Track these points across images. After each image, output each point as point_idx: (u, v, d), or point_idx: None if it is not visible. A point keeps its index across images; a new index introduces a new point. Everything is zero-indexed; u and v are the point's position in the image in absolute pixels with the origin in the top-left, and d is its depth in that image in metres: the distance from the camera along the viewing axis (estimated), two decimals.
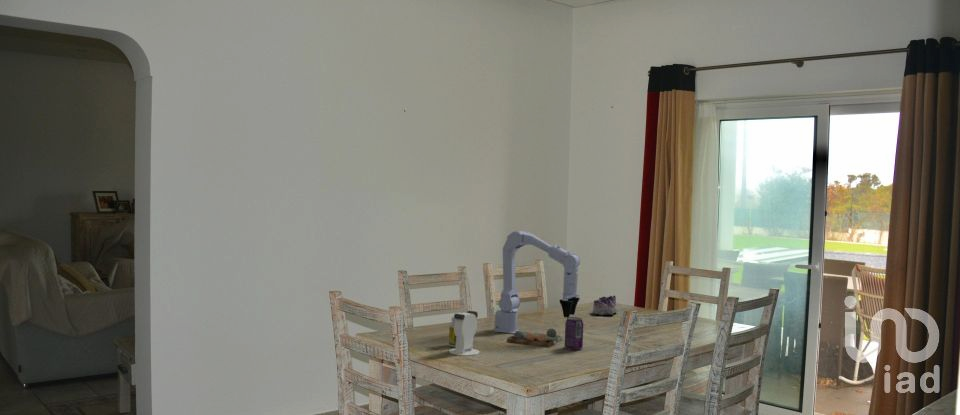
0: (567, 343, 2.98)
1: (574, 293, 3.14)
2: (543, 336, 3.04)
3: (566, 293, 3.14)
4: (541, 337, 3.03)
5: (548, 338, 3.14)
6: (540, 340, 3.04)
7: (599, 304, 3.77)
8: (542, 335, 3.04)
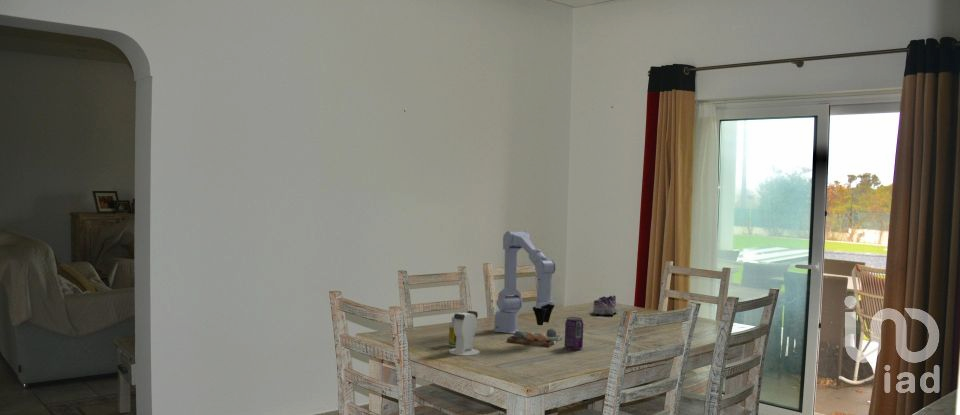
0: (567, 343, 2.98)
1: (548, 300, 3.02)
2: (543, 336, 3.04)
3: (540, 300, 3.02)
4: (541, 337, 3.03)
5: (548, 338, 3.14)
6: (540, 340, 3.04)
7: (599, 304, 3.77)
8: (542, 335, 3.04)
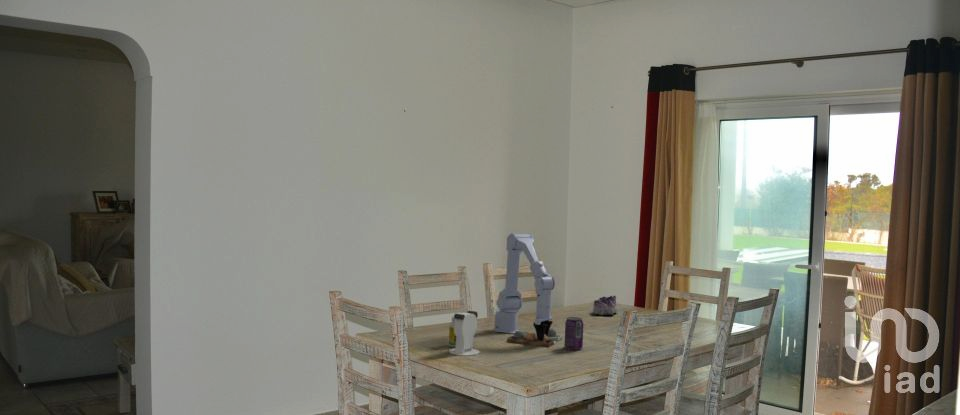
0: (567, 343, 2.98)
1: (547, 316, 3.03)
2: None
3: (539, 316, 3.03)
4: None
5: (548, 338, 3.14)
6: None
7: (599, 304, 3.77)
8: None
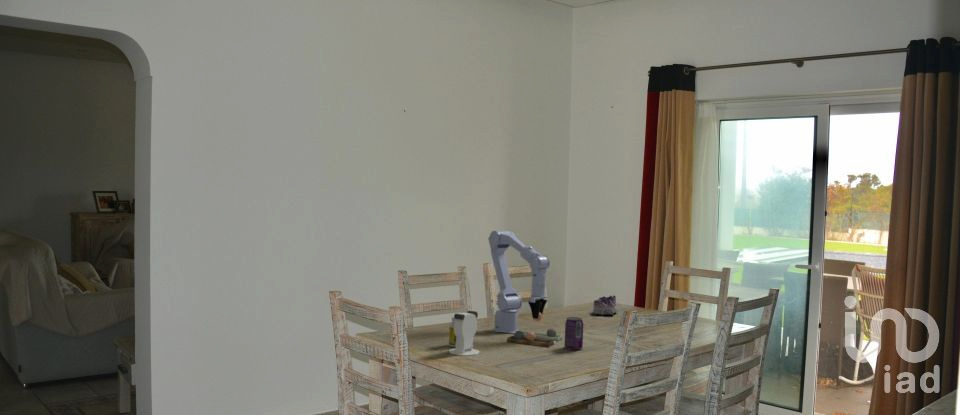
0: (567, 343, 2.98)
1: (542, 295, 3.13)
2: None
3: (534, 295, 3.14)
4: None
5: (548, 338, 3.14)
6: (535, 318, 3.15)
7: (599, 304, 3.77)
8: None
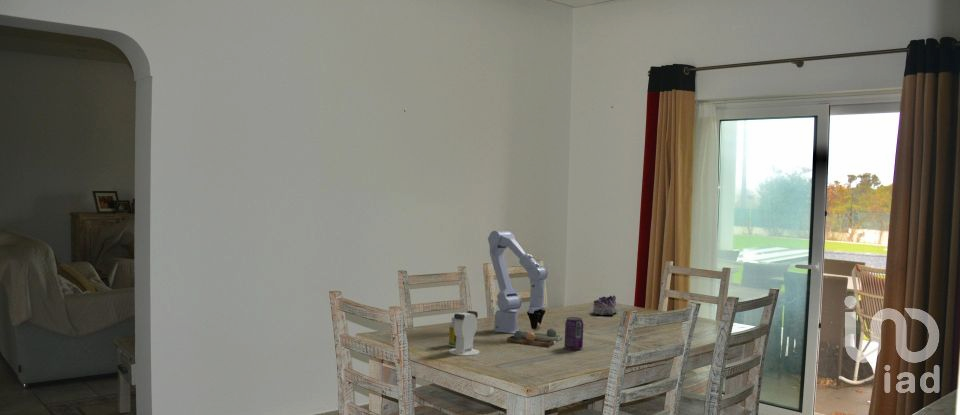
0: (567, 343, 2.98)
1: (540, 305, 3.16)
2: None
3: (532, 305, 3.16)
4: None
5: (548, 338, 3.14)
6: None
7: (599, 304, 3.77)
8: None
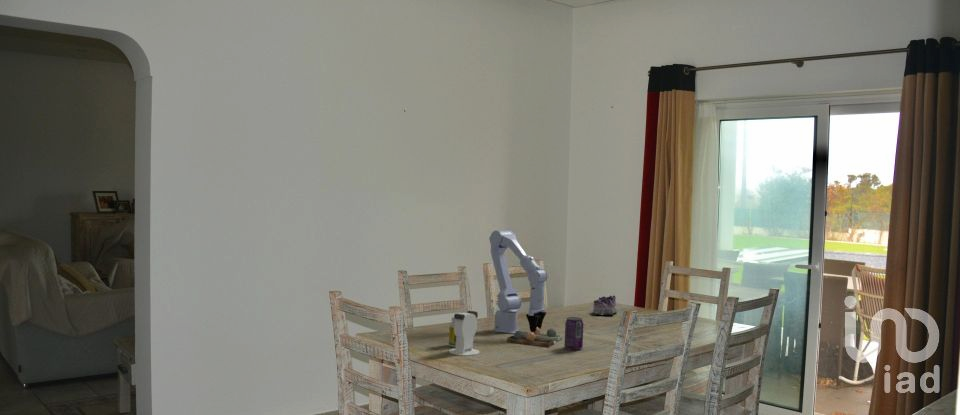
0: (567, 343, 2.98)
1: (540, 308, 3.16)
2: (536, 329, 3.17)
3: (532, 308, 3.16)
4: None
5: (548, 338, 3.14)
6: None
7: (599, 304, 3.77)
8: None
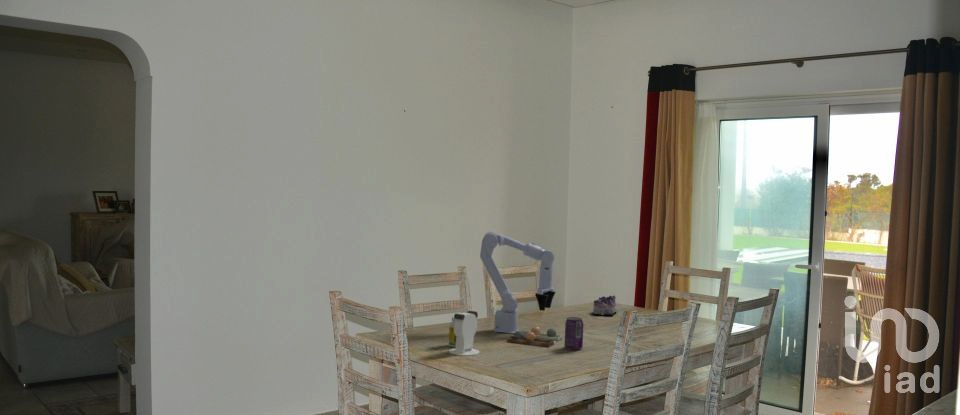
0: (567, 343, 2.98)
1: (549, 287, 3.26)
2: (536, 329, 3.17)
3: (542, 287, 3.26)
4: (535, 331, 3.17)
5: (548, 338, 3.14)
6: None
7: (599, 304, 3.77)
8: (535, 328, 3.17)
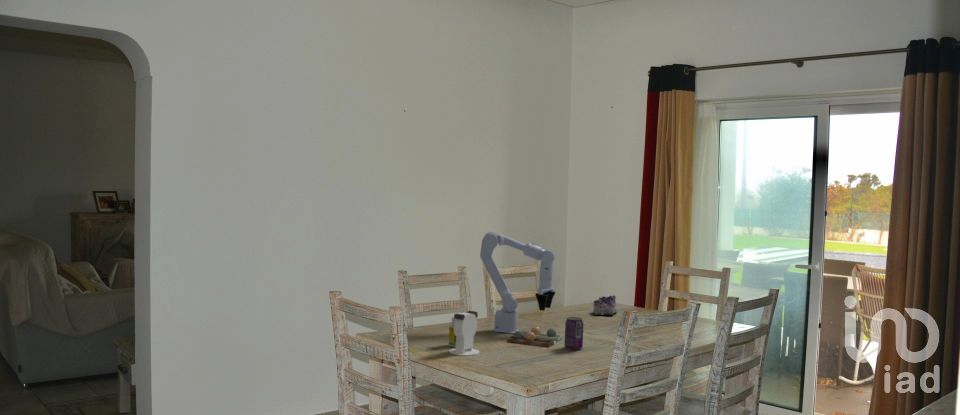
0: (567, 343, 2.98)
1: (549, 287, 3.26)
2: (536, 329, 3.17)
3: (542, 287, 3.26)
4: (535, 331, 3.17)
5: (548, 338, 3.14)
6: None
7: (599, 304, 3.77)
8: (535, 328, 3.17)
